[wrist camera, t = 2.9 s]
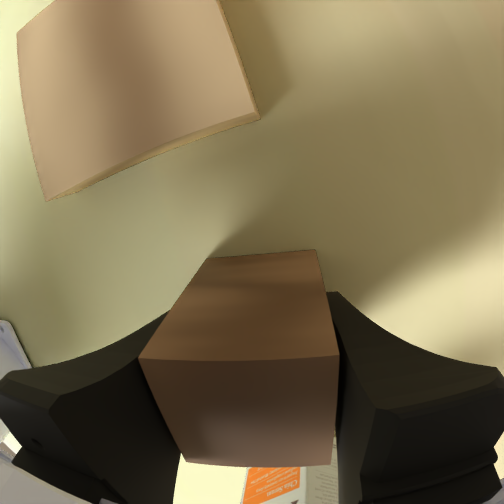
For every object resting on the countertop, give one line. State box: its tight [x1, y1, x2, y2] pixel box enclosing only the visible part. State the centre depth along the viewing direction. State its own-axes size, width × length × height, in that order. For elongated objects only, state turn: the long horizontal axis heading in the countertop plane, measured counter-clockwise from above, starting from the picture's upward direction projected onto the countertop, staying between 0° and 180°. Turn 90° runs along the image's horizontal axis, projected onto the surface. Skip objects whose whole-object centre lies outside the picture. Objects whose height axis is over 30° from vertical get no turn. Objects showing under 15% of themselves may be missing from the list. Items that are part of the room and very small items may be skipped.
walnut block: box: [138, 250, 339, 468], centre depth 9 cm, size 4×4×6 cm
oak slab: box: [17, 0, 261, 202], centre depth 8 cm, size 8×8×2 cm
